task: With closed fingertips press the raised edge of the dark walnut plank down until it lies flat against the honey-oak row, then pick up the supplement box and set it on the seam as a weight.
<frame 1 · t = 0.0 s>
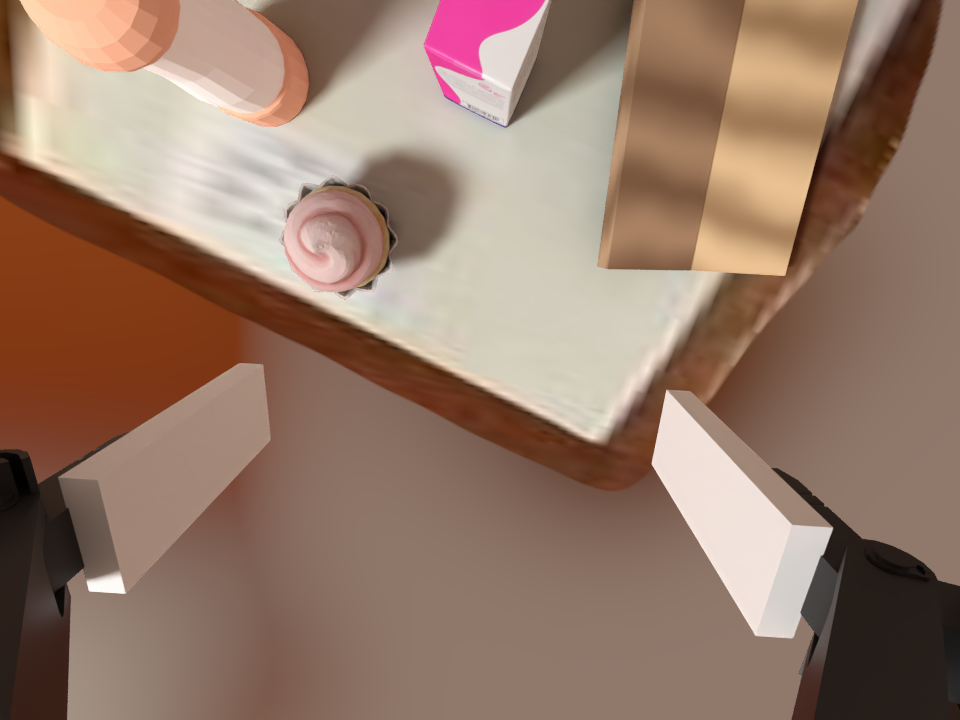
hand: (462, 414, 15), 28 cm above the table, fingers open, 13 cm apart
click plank: (671, 107, 35), point 2 cm above the table, hinge at 18.3°
cupcake: (356, 236, 41), on the table
laid plank: (762, 119, 37), on the table
supplement box: (489, 75, 37), on the table
peach and white cylinder: (265, 77, 37), on the table
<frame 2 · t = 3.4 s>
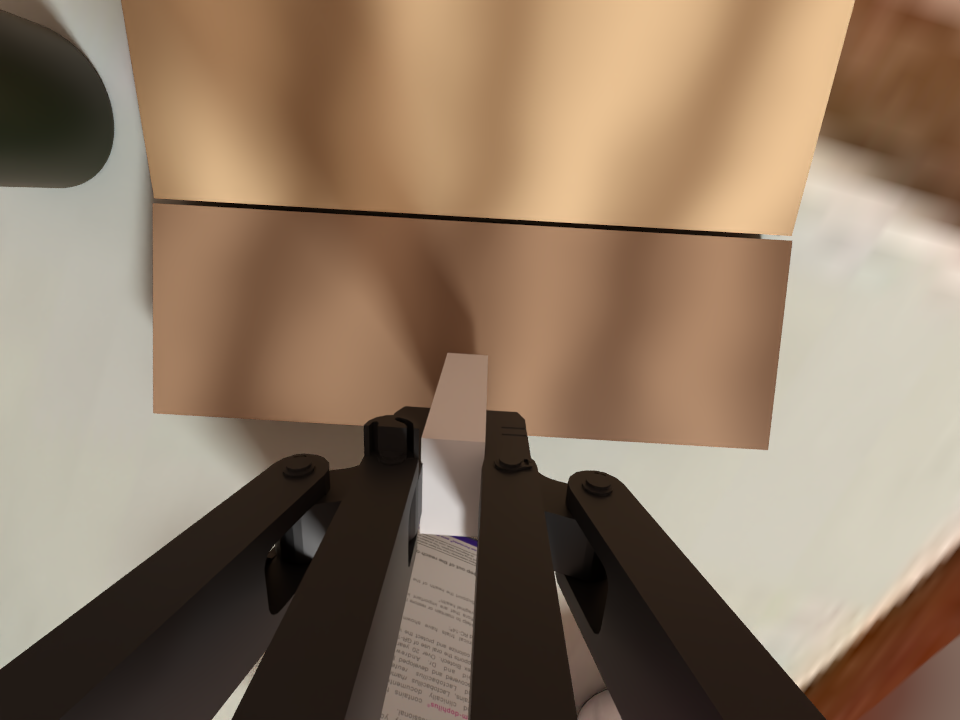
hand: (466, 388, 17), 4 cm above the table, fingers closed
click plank: (466, 328, 18), point 2 cm above the table, hinge at 14.1°, touching gripper
cupcake: (627, 715, 29), on the table
wine bottle: (45, 109, 18), on the table
laid plank: (479, 105, 18), on the table
supplement box: (420, 560, 25), on the table
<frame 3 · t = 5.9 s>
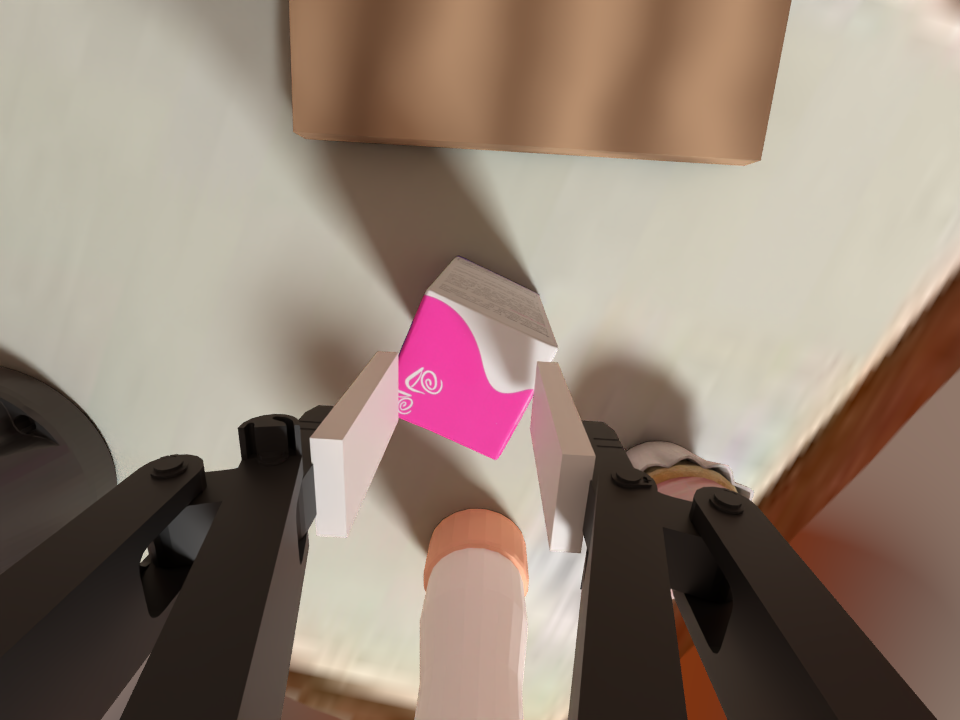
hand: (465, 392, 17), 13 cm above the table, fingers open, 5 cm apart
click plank: (531, 64, 24), point 1 cm above the table, hinge at 4.9°
cupcake: (652, 477, 33), on the table
supplement box: (478, 314, 29), on the table
peach and white cylinder: (477, 546, 35), on the table
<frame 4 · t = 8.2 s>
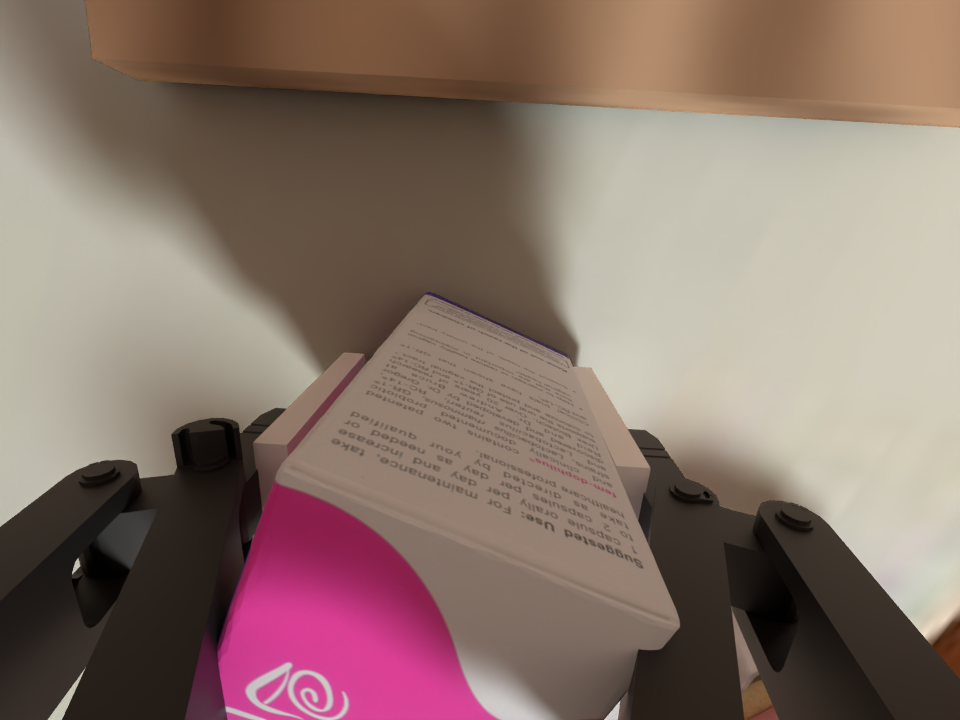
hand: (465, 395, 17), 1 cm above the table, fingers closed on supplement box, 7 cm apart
cupcake: (740, 628, 21), on the table
supplement box: (465, 386, 17), on the table, touching gripper
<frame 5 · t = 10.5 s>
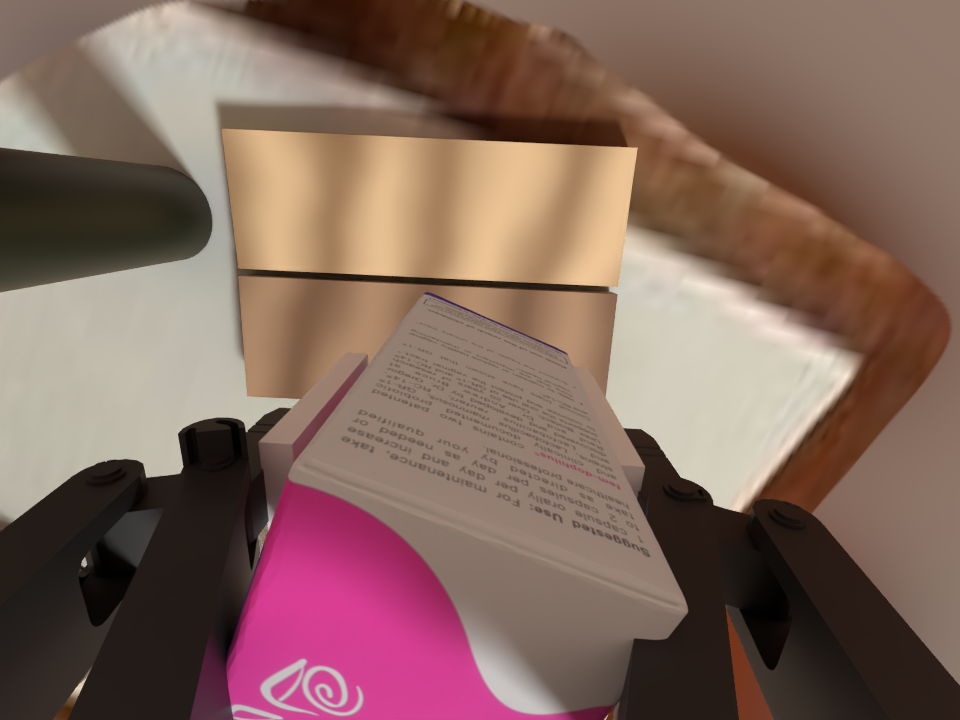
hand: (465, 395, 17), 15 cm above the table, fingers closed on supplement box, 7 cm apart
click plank: (427, 344, 31), point 1 cm above the table, hinge at 4.9°
wine bottle: (170, 214, 30), on the table
laid plank: (431, 210, 29), on the table
supplement box: (464, 385, 18), point 14 cm above the table, touching gripper
when the fingers open (3 cm above the table, at t = 13.1 s): supplement box stays where it is, resting on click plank, laid plank.
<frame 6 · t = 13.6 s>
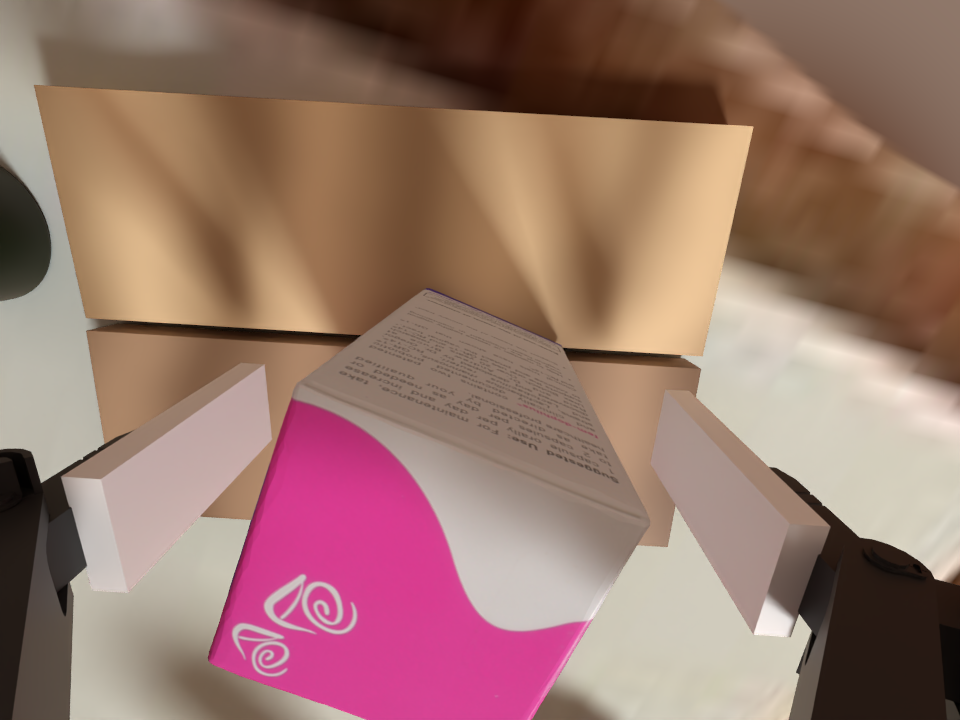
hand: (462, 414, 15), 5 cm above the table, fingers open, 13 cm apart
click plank: (395, 436, 20), point 1 cm above the table, hinge at 3.9°, touching supplement box
laid plank: (400, 228, 18), on the table
supplement box: (464, 378, 18), point 2 cm above the table, touching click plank, laid plank
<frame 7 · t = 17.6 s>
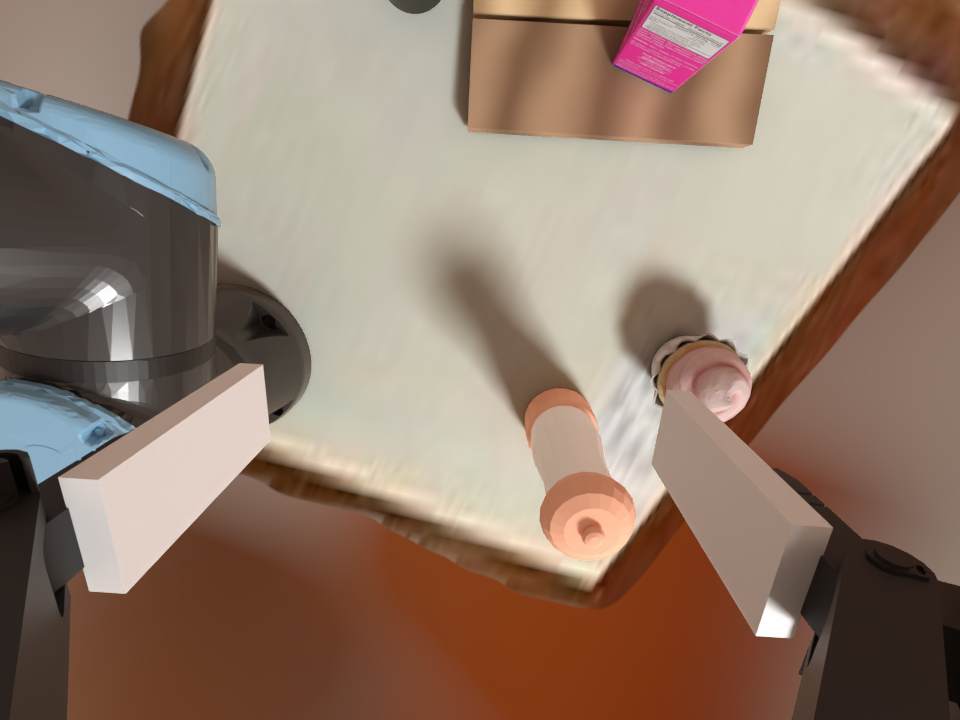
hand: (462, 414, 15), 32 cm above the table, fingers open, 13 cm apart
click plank: (613, 85, 39), point 1 cm above the table, hinge at 3.9°, touching supplement box
cupcake: (681, 364, 48), on the table
supplement box: (655, 44, 37), point 2 cm above the table, touching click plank, laid plank
peach and white cylinder: (557, 418, 50), on the table
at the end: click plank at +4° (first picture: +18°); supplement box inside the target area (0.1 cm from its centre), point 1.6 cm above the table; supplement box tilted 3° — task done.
